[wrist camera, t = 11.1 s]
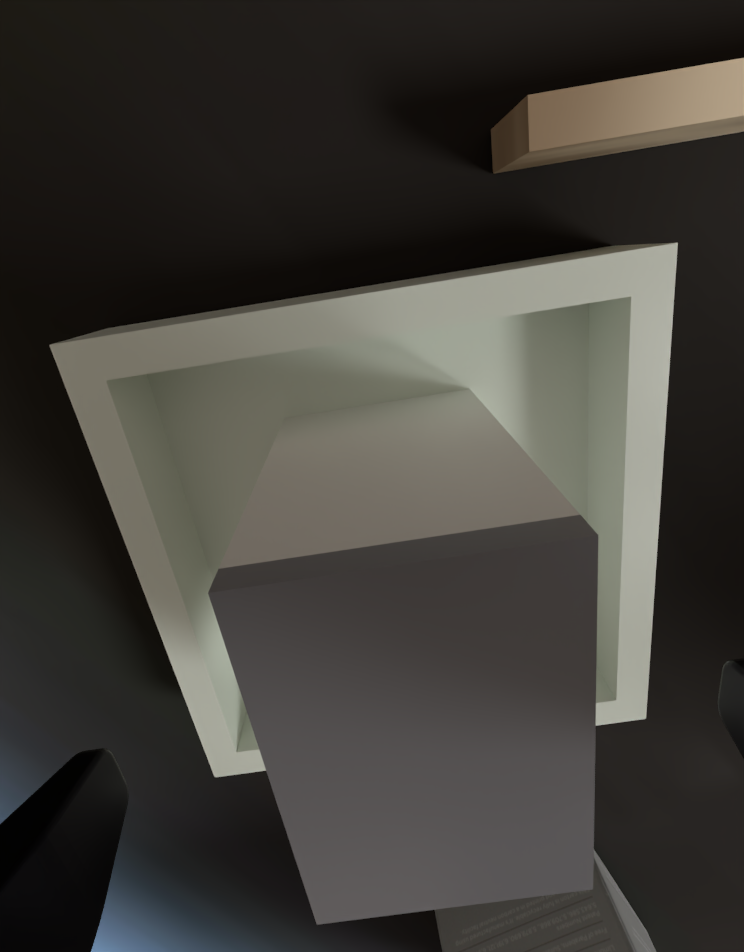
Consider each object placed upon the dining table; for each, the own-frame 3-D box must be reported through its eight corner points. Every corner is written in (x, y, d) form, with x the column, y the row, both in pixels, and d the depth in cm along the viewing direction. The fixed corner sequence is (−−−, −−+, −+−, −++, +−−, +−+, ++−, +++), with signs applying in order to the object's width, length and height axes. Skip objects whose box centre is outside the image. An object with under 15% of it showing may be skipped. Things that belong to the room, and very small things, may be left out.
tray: (613, 245, 12) (677, 242, 9) (604, 652, 16) (645, 719, 14) (107, 328, 12) (49, 345, 10) (234, 705, 17) (214, 777, 14)
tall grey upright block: (469, 388, 12) (597, 534, 6) (488, 611, 15) (593, 889, 8) (284, 418, 12) (207, 593, 6) (333, 634, 15) (316, 924, 8)
